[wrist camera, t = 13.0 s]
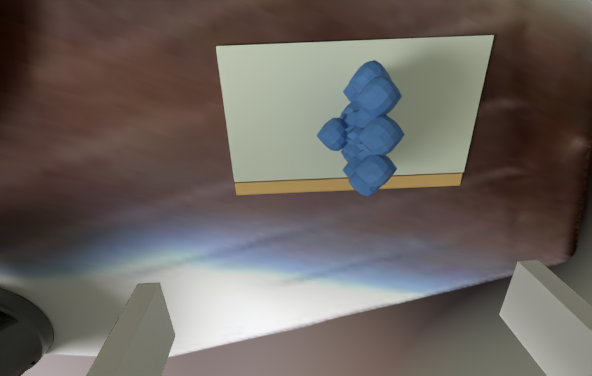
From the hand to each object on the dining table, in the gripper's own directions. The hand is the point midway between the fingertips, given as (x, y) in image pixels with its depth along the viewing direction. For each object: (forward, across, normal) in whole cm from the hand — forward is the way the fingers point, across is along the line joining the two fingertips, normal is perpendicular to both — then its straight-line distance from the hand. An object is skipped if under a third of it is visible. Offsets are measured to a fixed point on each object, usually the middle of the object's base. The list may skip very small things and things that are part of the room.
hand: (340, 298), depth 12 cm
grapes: (+24, +4, +1) cm, 24 cm away
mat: (+24, +5, +1) cm, 25 cm away
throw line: (+24, +5, -7) cm, 26 cm away
